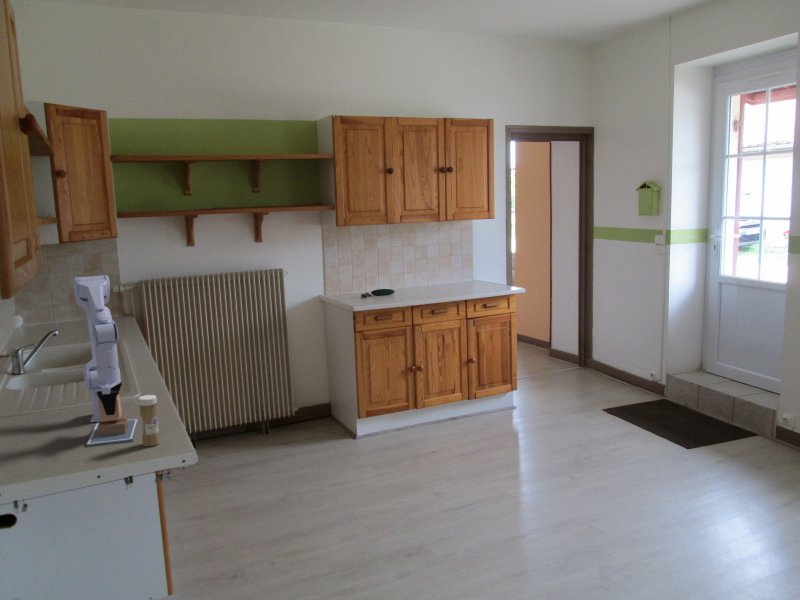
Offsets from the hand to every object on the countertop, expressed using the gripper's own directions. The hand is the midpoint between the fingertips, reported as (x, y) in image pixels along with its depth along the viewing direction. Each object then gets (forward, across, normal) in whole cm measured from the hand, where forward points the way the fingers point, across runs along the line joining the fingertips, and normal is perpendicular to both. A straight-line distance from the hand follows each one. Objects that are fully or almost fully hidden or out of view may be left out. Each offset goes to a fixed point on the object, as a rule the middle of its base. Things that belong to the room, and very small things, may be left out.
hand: (111, 411), depth 188 cm
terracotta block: (+2, 0, 0) cm, 2 cm away
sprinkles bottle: (+7, +13, +11) cm, 18 cm away
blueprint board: (+6, 0, 0) cm, 6 cm away
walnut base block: (+6, 0, 0) cm, 6 cm away
